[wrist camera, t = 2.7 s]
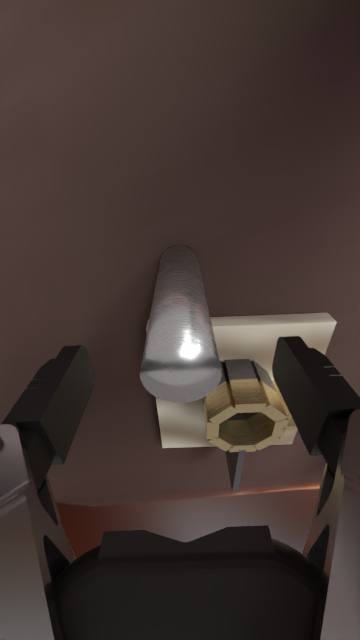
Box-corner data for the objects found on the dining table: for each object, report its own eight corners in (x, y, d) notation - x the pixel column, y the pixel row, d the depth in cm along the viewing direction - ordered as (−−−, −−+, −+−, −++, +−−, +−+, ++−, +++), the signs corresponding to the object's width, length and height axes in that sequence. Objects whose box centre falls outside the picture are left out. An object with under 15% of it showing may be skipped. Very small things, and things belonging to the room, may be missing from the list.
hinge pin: (158, 245, 18) (134, 345, 8) (198, 244, 18) (224, 341, 8) (161, 282, 20) (144, 404, 10) (198, 281, 20) (219, 401, 10)
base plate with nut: (147, 319, 22) (138, 371, 16) (327, 312, 22) (378, 362, 16) (163, 436, 31) (160, 494, 26) (287, 432, 31) (310, 489, 26)
